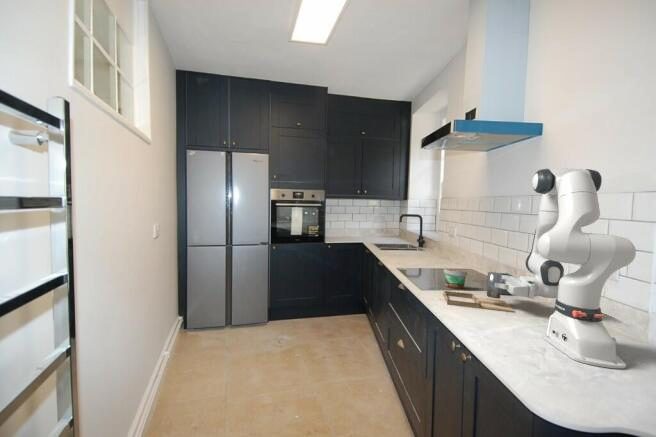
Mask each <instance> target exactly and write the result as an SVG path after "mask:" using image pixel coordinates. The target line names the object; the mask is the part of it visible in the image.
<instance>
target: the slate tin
mask: <svg viewBox="0 0 656 437" xmlns="http://www.w3.org/2000/svg"><path fill="white" fill-rule="evenodd" d="M500 273H501V272H496V271H495V272H494V271H488V272H487V279H488V284H487V283H486V296H487V297H488V298H490V299H500V298H501V295H500V292H501V288H497V287H495V286H494V283H499V284H501V279H502V274H500Z"/></svg>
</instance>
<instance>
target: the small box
mask: <svg viewBox="0 0 656 437" xmlns="http://www.w3.org/2000/svg"><path fill="white" fill-rule="evenodd" d="M499 273H500V274H502V275H507V276H513V277H515V276H514V275H512V274H509V273H507V272H504V273H503V272H499ZM486 280H487V281H486V282H487V283H486V285H487V284H488V278H487V279H486ZM500 296H513V294H510V293H509V292H508V291H507V290H506V289H502V288H501V292H500Z"/></svg>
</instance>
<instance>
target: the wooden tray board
mask: <svg viewBox="0 0 656 437" xmlns="http://www.w3.org/2000/svg"><path fill="white" fill-rule="evenodd" d="M442 296H443V297H444V300H445V303H446V305H447V306H448V305H449V306H457V307H466V308H474V309H481V310H491V311H498V312H499V311H500V312H505V313H506V312H507V313H514V312H515V313H516V311H515V310H514V309H513V308H512V307H511V306H510V305H509V304H508V303H507V302H506V301H505V300H499V299H493V298H483V297H476V296H475V294H474V293H468V292H458V291H449V290H443V292H442ZM448 297H457V298H465V299H472V301H473V302H472V301H471V302H470V301H463V300H462V301H461V300H455V299H449V298H448Z"/></svg>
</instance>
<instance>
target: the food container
mask: <svg viewBox="0 0 656 437" xmlns="http://www.w3.org/2000/svg"><path fill="white" fill-rule="evenodd" d="M443 273H444V283H445V287H446V288H448V289H451V290H455V291H457V290H459V291H460V290H461V291H462V290H464V287H465V281H466V278H467V277H466V276H468V271H467V270H466V271H460V270H456V269H454V270H451V269H450V270H448V269H446V268H444V269H443Z"/></svg>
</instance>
